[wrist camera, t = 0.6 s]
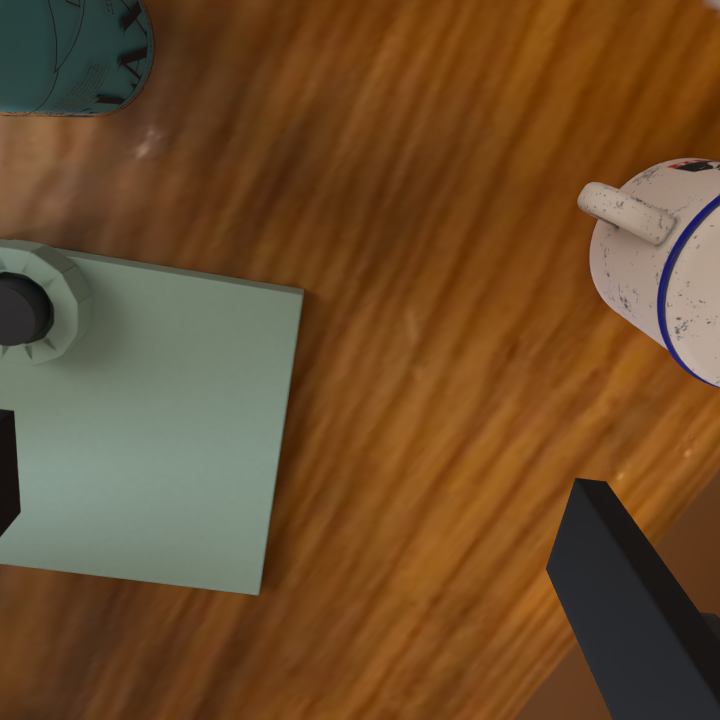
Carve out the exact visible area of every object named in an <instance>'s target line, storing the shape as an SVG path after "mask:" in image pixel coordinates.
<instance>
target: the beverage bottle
mask: <svg viewBox="0 0 720 720" xmlns="http://www.w3.org/2000/svg"><path fill="white" fill-rule="evenodd" d="M144 4H145V3H144ZM145 6H146V5H145ZM146 8H147V7H146ZM147 11H148V10H147ZM148 14H149V13H148ZM149 17H150V16H149ZM150 20H151V18H150ZM151 25H152V23H151ZM152 29H153V27H152ZM153 37H154V33H153ZM152 55H153V39H152V32H151V27H150V23H149V20H148V17H147V14H146V11H145V9H144V6H143V4H142V1H141V0H0V111H5V112H7V111H8V112H9V113H10V112H15V113H16V112H24V113H25V112H30V113H32V112H35V114H37V113H36V112H39V113H42V114H43V113H46V114H47V113H49V114H50V113H51V114H52V113H56V116H52V115H50V117H51V116H52V117H85V118H86V117H89V118H90V117H94V116H85V115H73V114H72V115H69V114H68V116H57V115H58V113H61V114H59V115H62V114H64V113H65V114H66V113H75V114H87V115H88V114H99V113H105V112H109V111H112V110H115V109H117V108H119V107H120V108H119V109H121V108H122V107H121V106H123V105H126V103H127V102H128V101H130V100H131V99H132V98H133V97H134V96H135V95H136V94H137V93H138V91H139V90H140V88H141V87H142V86H143V84H144V82H145V80H146V78H147V76H148V73H149V70H150V67H151V62H152ZM153 59H154V55H153ZM152 65H153V63H152ZM151 69H152V67H151ZM150 73H151V71H150ZM149 75H150V74H149ZM148 78H149V76H148ZM147 80H148V79H147ZM146 82H147V81H146ZM145 84H146V83H145ZM144 86H145V85H144ZM143 88H144V87H143ZM142 90H143V89H142ZM142 90H141V91H142ZM139 94H140V93H139ZM139 94H138V95H139ZM136 98H137V97H136ZM136 98H135V99H136ZM135 99H134V100H135ZM134 100H133V101H134ZM133 101H132V102H133ZM132 102H131V103H132ZM127 106H128V105H127ZM123 109H124V108H123ZM117 110H118V109H117ZM121 110H122V109H121ZM119 111H120V110H119ZM113 112H115V111H113ZM30 113H29V114H30ZM39 113H38V115H40V114H39ZM12 114H13V113H12ZM46 114H45V115H46ZM49 114H47V115H49ZM108 114H110V113H108ZM113 114H114V113H113ZM26 115H27V114H26ZM101 115H102V114H101ZM110 115H111V114H110ZM3 116H10V117H11V116H14V115H3ZM22 116H24V115H22ZM42 116H44V115H42ZM98 116H99V115H98ZM103 116H104V115H102V117H103ZM107 116H108V115H107ZM15 117H17V116H15ZM95 118H96V117H95Z"/></svg>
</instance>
